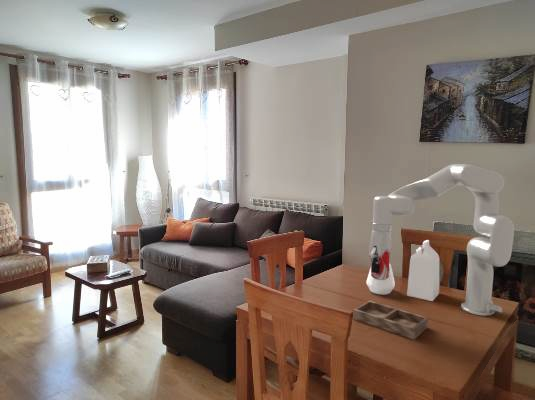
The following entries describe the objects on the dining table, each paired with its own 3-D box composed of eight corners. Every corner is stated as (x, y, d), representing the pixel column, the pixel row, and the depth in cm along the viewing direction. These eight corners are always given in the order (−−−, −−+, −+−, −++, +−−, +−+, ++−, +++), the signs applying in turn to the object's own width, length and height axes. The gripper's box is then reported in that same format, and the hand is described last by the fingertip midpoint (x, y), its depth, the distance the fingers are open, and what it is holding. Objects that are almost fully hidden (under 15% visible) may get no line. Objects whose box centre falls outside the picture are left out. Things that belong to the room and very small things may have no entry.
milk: (432, 301, 173) (435, 245, 170) (406, 295, 180) (409, 241, 177) (439, 293, 183) (442, 240, 179) (414, 288, 189) (417, 237, 186)
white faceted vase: (390, 298, 176) (392, 269, 175) (362, 292, 183) (363, 264, 182) (397, 289, 188) (398, 262, 186) (370, 284, 195) (371, 258, 193)
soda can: (389, 281, 149) (391, 252, 148) (371, 280, 151) (372, 250, 149) (387, 276, 156) (389, 247, 155) (370, 274, 158) (371, 246, 156)
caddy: (427, 327, 147) (428, 317, 147) (414, 339, 138) (414, 329, 137) (368, 309, 164) (369, 300, 164) (353, 318, 155) (353, 309, 154)
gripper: (383, 223, 160) (381, 264, 162) (362, 229, 147) (360, 273, 149) (400, 225, 155) (398, 267, 157) (380, 232, 142) (378, 277, 144)
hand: (380, 270), depth 153 cm, fingers closed on soda can, 7 cm apart
